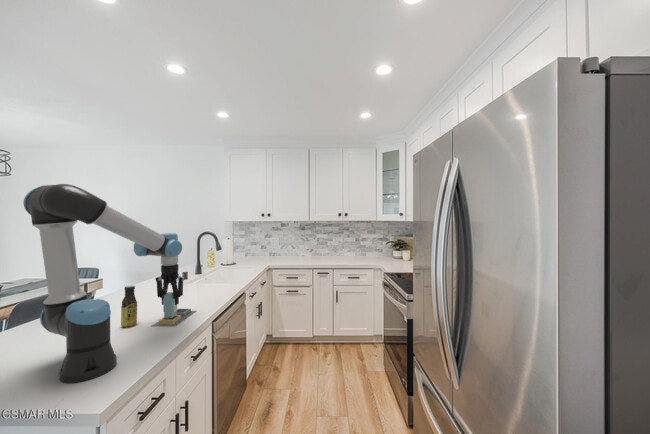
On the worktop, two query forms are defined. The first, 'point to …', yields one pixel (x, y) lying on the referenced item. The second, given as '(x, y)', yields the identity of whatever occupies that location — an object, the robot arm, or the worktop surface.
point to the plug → (169, 305)
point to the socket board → (174, 318)
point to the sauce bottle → (129, 308)
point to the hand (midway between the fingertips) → (170, 310)
